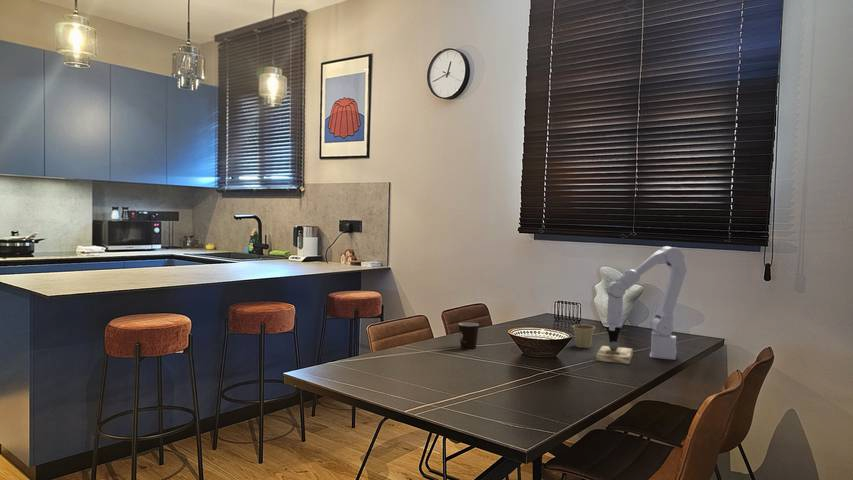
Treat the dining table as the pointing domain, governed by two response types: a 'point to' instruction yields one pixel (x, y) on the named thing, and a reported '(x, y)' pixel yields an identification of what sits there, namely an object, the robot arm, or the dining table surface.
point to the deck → (614, 355)
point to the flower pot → (583, 335)
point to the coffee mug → (468, 335)
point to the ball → (613, 345)
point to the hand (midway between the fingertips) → (613, 345)
